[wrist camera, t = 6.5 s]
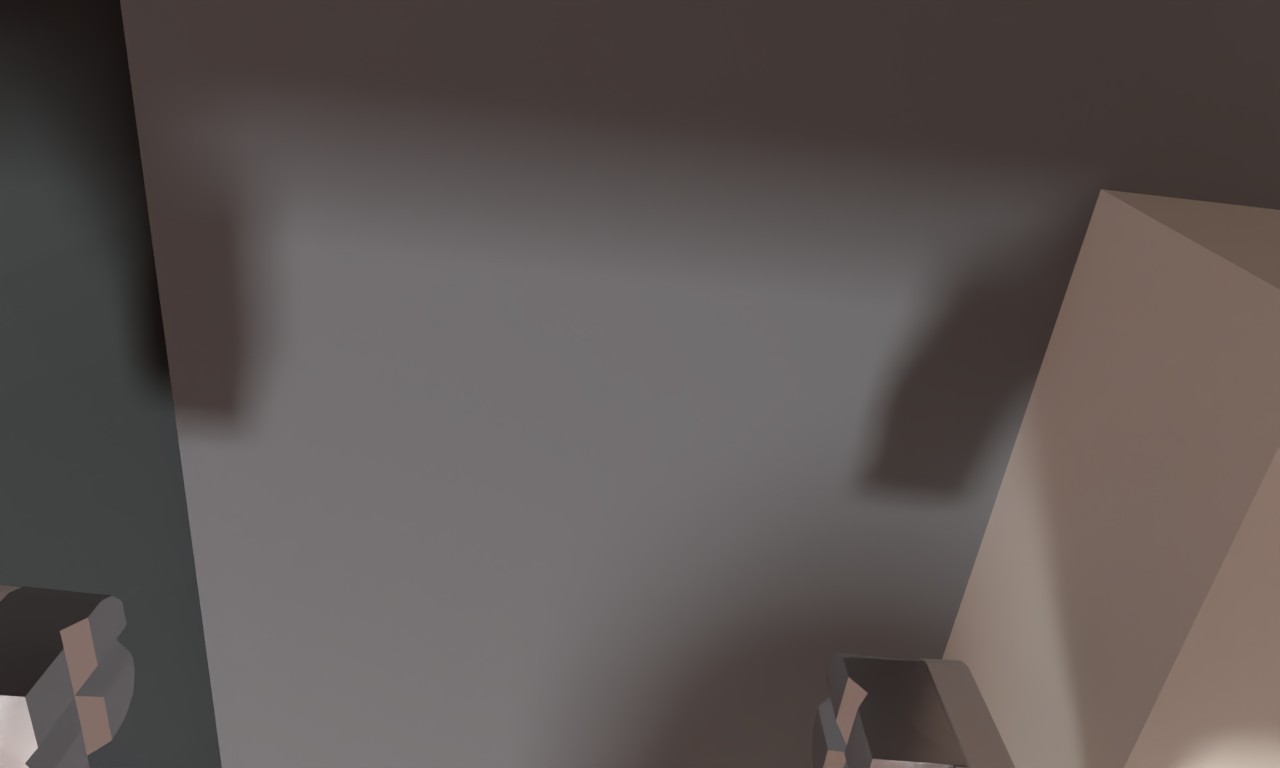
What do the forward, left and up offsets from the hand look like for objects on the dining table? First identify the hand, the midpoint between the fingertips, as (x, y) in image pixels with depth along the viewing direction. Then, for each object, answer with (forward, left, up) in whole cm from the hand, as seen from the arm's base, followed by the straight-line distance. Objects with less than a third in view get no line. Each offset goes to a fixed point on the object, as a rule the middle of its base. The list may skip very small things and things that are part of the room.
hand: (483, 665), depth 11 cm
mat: (0, +10, -3) cm, 11 cm away
